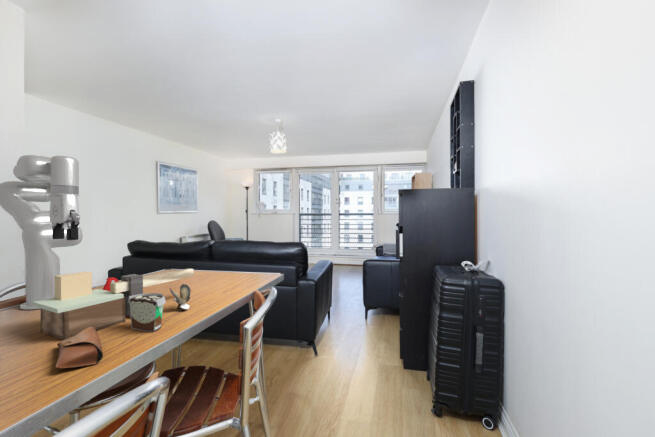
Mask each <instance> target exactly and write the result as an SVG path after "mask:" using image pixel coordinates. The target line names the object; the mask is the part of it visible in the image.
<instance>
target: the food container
mask: <svg viewBox="0 0 655 437" xmlns="http://www.w3.org/2000/svg"><path fill="white" fill-rule="evenodd" d="M164 295H165V294H163V293H160V292H159V293H158V292H156V293H155V292H150V293H149V292H148V293H146V292H145V293H143V294H138V295H132V296H129V299H128V303H130V315H131V319H130V326H131V330H132V329H133V330H137V331H144V332H147V333H148V332H149V333H156V332H158V331H160V330H161V328H162V323H163V322H162V320H163V313H164V312H163V311H164V304H166V297H165V296H164Z"/></svg>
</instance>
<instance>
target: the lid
mask: <svg viewBox="0 0 655 437" xmlns="http://www.w3.org/2000/svg"><path fill="white" fill-rule="evenodd" d="M92 276H93V272H90V271H80V272H74V273H67V274H60V275H58V276H55V298H49V299H44V300H39V301H34V302H33V306H35V307H38V308H42V309H45V310H48V311H51V312H55V313H61V312H65V311H70V310H74V309H78V308H82V307H87V306H91V305H95V304H99V303H104V302H108V301H112V300H116V299H121V298H124V294H121V293H112V292H110V291H106V290H103V289H100V288H96V289H93V278H92Z"/></svg>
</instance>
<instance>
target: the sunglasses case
mask: <svg viewBox="0 0 655 437" xmlns="http://www.w3.org/2000/svg"><path fill="white" fill-rule="evenodd" d="M57 347H58V356H57V360H56V363H55V369H75V368H81V367H86V366H92V365H96V364H98V363H99V362H100V361H101V360H103V356H104V353H103V347H102V342H101V340H100V336H99V333H98V331H96V330H95V328H94V327H89V328H87V329H85V330H83V331H82V332H80V333H78V334H77V335H75V336H72V337H70V338H68V339H65V340H61V341H59V342H57Z"/></svg>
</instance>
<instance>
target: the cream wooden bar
mask: <svg viewBox="0 0 655 437" xmlns="http://www.w3.org/2000/svg"><path fill="white" fill-rule="evenodd" d="M194 274H195V273H194V268H184V269H179V270H173V271H169V272H168V271H167V272H162V273H158V274H157V273H156V274H152V275H147V276H143V288H146V287H151V286H155V285H156V286H157V285H159V284H165V283H169V282H174V281H178V280H182V279H188V278H191V277H194V276H195V275H194ZM118 281H119V280H118ZM128 290H129V281H127V280H125V281H121V280H120V281H119V282H114V283H110V292H112V293H119V292H124V291H128Z"/></svg>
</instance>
